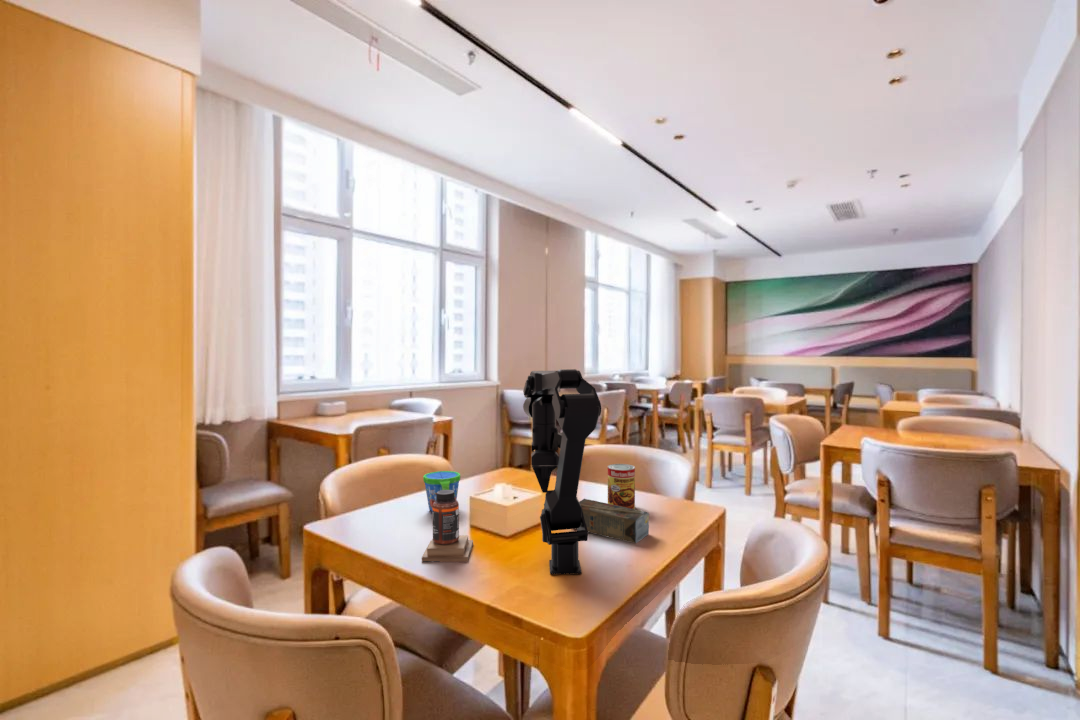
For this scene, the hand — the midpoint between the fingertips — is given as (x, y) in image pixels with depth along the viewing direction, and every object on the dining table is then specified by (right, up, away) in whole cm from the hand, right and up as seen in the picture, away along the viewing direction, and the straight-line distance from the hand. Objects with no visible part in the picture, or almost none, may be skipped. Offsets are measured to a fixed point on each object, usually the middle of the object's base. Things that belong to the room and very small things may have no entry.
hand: (544, 487), depth 125 cm
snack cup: (-29, -13, +25) cm, 40 cm away
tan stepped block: (-22, -13, -7) cm, 26 cm away
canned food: (+23, -13, +27) cm, 37 cm away
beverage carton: (+16, -13, +7) cm, 22 cm away
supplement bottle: (-23, -11, -7) cm, 26 cm away
